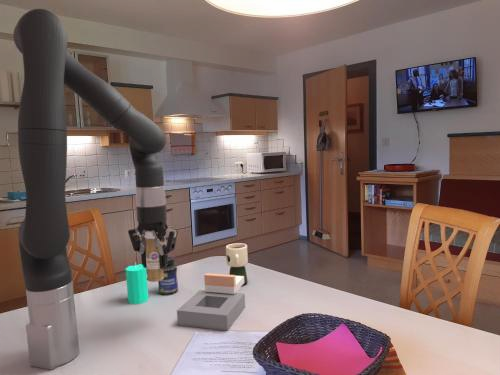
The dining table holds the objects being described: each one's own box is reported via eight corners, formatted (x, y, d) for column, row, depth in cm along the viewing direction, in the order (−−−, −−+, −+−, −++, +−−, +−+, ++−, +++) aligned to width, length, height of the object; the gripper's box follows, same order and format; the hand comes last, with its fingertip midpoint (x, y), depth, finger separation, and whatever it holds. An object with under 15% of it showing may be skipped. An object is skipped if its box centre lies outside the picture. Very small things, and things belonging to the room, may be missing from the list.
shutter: (234, 294, 107) (233, 276, 107) (205, 291, 110) (204, 275, 109) (244, 282, 116) (243, 266, 115) (217, 280, 119) (216, 265, 118)
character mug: (228, 278, 132) (226, 242, 131) (248, 277, 132) (246, 241, 131) (227, 290, 121) (225, 250, 120) (249, 289, 122) (247, 249, 120)
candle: (151, 296, 120) (148, 259, 118) (144, 304, 114) (141, 265, 112) (133, 296, 120) (129, 259, 119) (125, 304, 114) (121, 265, 113)
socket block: (227, 330, 95) (226, 315, 95) (177, 324, 99) (176, 310, 99) (245, 307, 108) (244, 293, 108) (200, 302, 113) (199, 290, 112)
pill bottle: (159, 296, 119) (156, 262, 118) (158, 289, 125) (156, 257, 123) (179, 293, 120) (176, 260, 119) (177, 287, 126) (175, 254, 125)
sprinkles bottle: (149, 283, 98) (146, 232, 96) (145, 278, 102) (142, 229, 100) (166, 280, 100) (163, 230, 98) (162, 275, 104) (159, 227, 102)
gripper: (182, 201, 100) (185, 264, 102) (135, 201, 104) (139, 261, 106) (168, 206, 93) (171, 274, 95) (118, 205, 97) (123, 270, 99)
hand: (154, 267), depth 100 cm, fingers closed on sprinkles bottle, 4 cm apart
